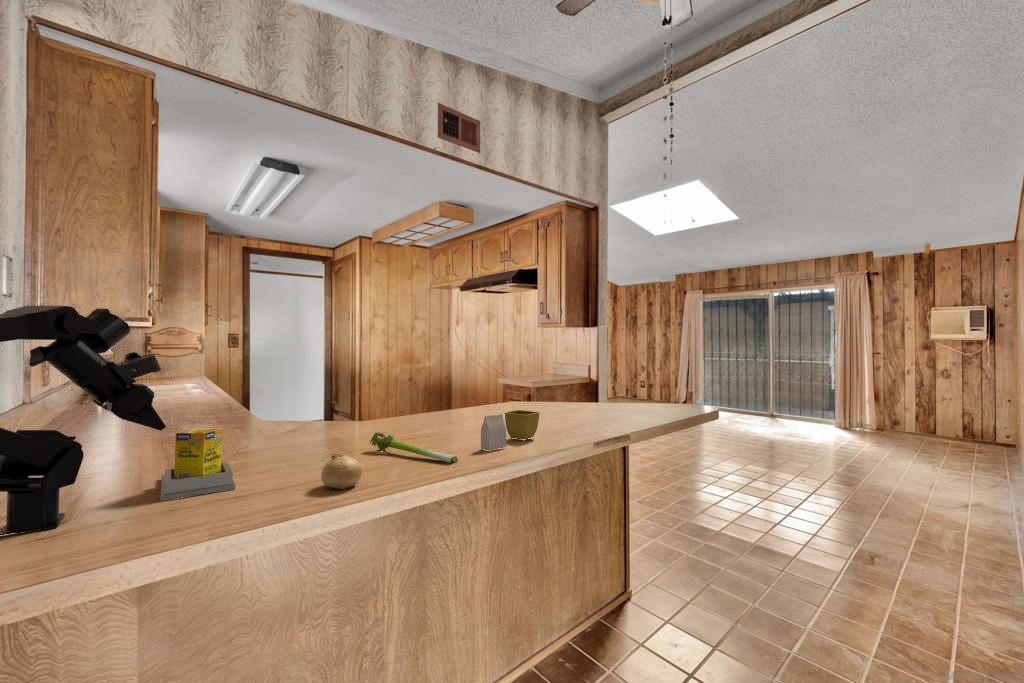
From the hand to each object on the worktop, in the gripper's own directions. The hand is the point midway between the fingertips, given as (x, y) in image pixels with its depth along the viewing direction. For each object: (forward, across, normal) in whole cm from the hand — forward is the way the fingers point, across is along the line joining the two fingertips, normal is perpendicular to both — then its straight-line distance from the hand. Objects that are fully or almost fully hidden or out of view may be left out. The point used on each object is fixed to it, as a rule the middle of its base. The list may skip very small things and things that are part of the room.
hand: (156, 425), depth 86 cm
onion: (+27, -24, -11) cm, 38 cm away
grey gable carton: (+59, -26, -47) cm, 80 cm away
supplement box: (+14, -2, +3) cm, 15 cm away
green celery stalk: (+46, -14, -30) cm, 57 cm away
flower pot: (+70, -24, -59) cm, 95 cm away
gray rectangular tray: (+16, +1, +4) cm, 16 cm away
